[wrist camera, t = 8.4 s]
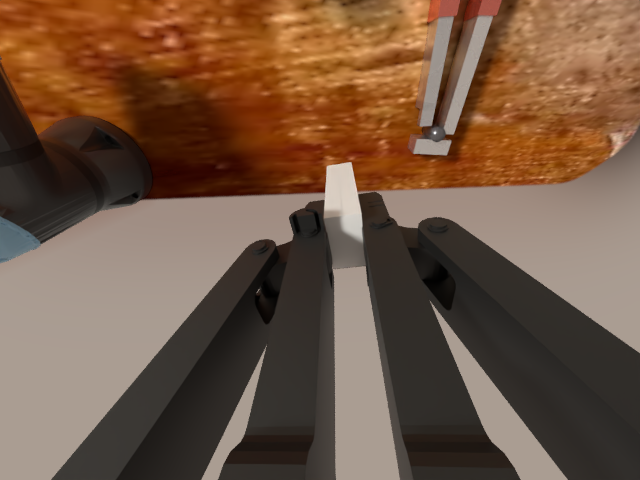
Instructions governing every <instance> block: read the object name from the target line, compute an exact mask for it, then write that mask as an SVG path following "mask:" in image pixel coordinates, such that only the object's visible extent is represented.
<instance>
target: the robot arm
mask: <svg viewBox="0 0 640 480" xmlns="http://www.w3.org/2000/svg"><path fill="white" fill-rule="evenodd" d="M1 59H2V58H1V56H0V60H1ZM151 187H152V173H151V169H150V166H149V164H148V161H147V159H146V158H145V156H144V154H143V153H142V151H141V150H140V148H139V147H138V146H137V145H136V144H135V142H134V141H133V140H132V139H131V138H130V137H129V136H127V135H126V134H125V133H124V132H123V131H121V130H120V129H119V128H117V127H115V126H114V125H112V124H110V123H108V122H106V121H104V120H102V119H99V118H95V117H91V116H77V117H70V118H65V119H62V120H60V121H58V122H56V123H55V124H53V125H52V126H50V127H49V128H47V129H46V130H45V131H43V132H42V133H40V134H39V135H38V136H37V134H36V132H35V130H34V127H33V125H32V123H31V121H30V119H29V117H28V115H27V113H26V111H25V109H24V107H23V105H22V103H21V101H20V99H19V97H18V95H17V93H16V91H15V89H14V87H13V85H12V83H11V81H10V79H9V77H8V75H7V73H6V71H5V69H4V67H3V65H2V63H1V61H0V263H3V262H6V261H9V260H11V259H13V258H15V257H17V256H20V255H21V254H24V253H26V252H28V251H30V250H33V249H36V248H38V247H39V246H40V245H41V244H43V243H44V242H46V241H48V240H49V239H51V238H53V237H55V236H57V235H58V234H60V233H62V232H64V231H65V230H67V229H69V228H70V227H72V226H74V225H76V224H77V223H79V222H81V221H83V220H85V219H86V218H88V217H90V216H91V215H93V214H95V213H97V212H99V211H102V210H108V209H113V208H119V207H125V206H129V205H132V204H135V203H137V202H138V201H140V200H141V199H143V198H145V197H146V196H147V195H148V193H149V192H150V190H151ZM289 220H290V223H291V227H292V230H293V234H294V236H293V240H292V241H290V242H288V243H286V244H282V245H279V246H276V244H275V242H274V241H273V240H269V239H265V240H259V241H256V242H254V243H252V244H251V245H249V246H248V247H247V248H246V249H245V250H244V251H243V253H242V254H241V255H240V256H239V257H238V258H237V260H236V261H235V262H234V263H233V264H232V266H231V267H230V268H229V269H228V271H227V272H226V273H225V274H224V275H223V277H222V278H221V279H220V280H219V281H218V282H217V283H216V285H215V286H214V287H213V288H212V290H211V291H210V292H209V293H208V294H207V295H206V296H205V298H204V299H203V300H202V301H201V303H200V304H199V305H198V306H197V307H196V309H195V310H194V311H193V312H192V313H191V314H190V316H189V317H188V318H187V319H186V320H185V321H184V323H183V324H182V325H181V326H180V327H179V329H178V330H177V331H176V332H175V333H174V335H173V336H172V337H171V338H170V339H169V340H168V342H167V343H166V344H165V345H164V346H163V348H162V349H161V350H160V351H159V352H158V354H157V355H156V356H155V357H154V358H153V359H152V361H151V362H150V363H149V364H148V365H147V367H146V368H145V369H144V370H143V371H142V373H141V374H140V375H139V376H138V378H136V380H135V381H134V382H133V383H132V385H131V386H130V387H129V388H128V389H127V390H126V392H125V393H124V394H123V395H122V396H121V398H120V399H119V400H118V401H117V402H116V403H115V405H114V406H113V407H112V408H111V409H110V411H109V412H108V413H107V414H106V415H105V417H104V418H103V419H102V420H101V421H100V422H99V424H98V425H97V426H96V427H95V429H94V430H93V431H92V432H91V433H90V434H89V435H88V437H87V438H86V439H85V440H84V441H83V443H82V444H81V445H80V446H79V447H78V449H77V450H76V451H75V452H74V453H73V454H72V456H71V457H70V458H69V459H68V460H67V462H66V463H65V464H64V465H63V466H62V468H61V469H60V470H59V471H58V472H57V473H56V475H55V476H54V477H53V478H52V480H201V479H202V477H203V475H204V473H205V471H206V469H207V466H208V465H209V463H210V460H211V458H212V456H213V454H214V452H215V450H216V448H217V446H218V444H219V442H220V440H221V438H222V436H223V434H224V432H225V429H226V427H227V425H228V423H229V421H230V419H231V417H232V415H233V413H234V411H235V409H236V407H237V405H238V403H239V401H240V399H241V397H242V395H243V392H244V390H245V388H246V386H247V384H248V382H249V380H250V378H251V376H252V374H253V372H254V370H255V367H256V366H257V364H258V362H259V359H260V357H261V355H262V353H263V351H264V349H265V347H266V345H267V347H266V351H265V355H264V359H263V363H262V367H261V371H260V376H259V380H258V384H257V388H256V392H255V396H254V400H253V404H252V409H251V413H250V417H249V421H248V425H247V428H246V432H245V435H244V437H243V439H242V441H241V442H240V443H239V444H238V445H237V446H236V447H235V448H234V449H233V450H232V451H231V452H230V453H229V455H228V457H227V459H226V461H225V463H224V465H223V467H222V470H221V473H220V476H219V479H218V480H336V476H335V475H336V474H335V375H334V374H335V367H334V366H335V364H334V363H335V361H334V360H335V359H334V275H333V270H332V264H333V269H340V268H348V267H349V268H350V267H359V266H366V272H367V282H368V286H369V291H370V297H371V303H372V310H373V316H374V322H375V327H376V334H377V340H378V346H379V352H380V359H381V365H382V371H383V377H384V383H385V389H386V395H387V401H388V408H389V413H390V420H391V426H392V431H393V438H394V444H395V450H396V456H397V462H398V469H399V475H400V480H520V478H519V476H518V474H517V472H516V470H515V468H514V467H513V465H512V464H511V463H510V461H509V459H508V458H507V457H506V455H505V454H504V453H503V452H502V451H501V450H500V449H499V448H498V447H497V446H496V445H494V444H493V443H492V442H491V440H490V439H489V437H488V436H487V434H486V432H485V430H484V428H483V426H482V424H481V421H480V419H479V417H478V415H477V412H476V409H475V407H474V405H473V402H472V400H471V398H470V395H469V393H468V390H467V388H466V386H465V383H464V381H463V379H462V376H461V374H460V372H459V370H458V367H457V364H456V362H455V360H454V357H453V355H452V353H451V350H450V348H449V345H448V343H447V341H446V338H445V336H444V334H443V331H442V329H441V327H440V324H439V322H438V320H437V317H436V315H435V312H434V310H433V308H432V305H431V303H430V301H431V302H432V304H433V305H434V306H435V308H436V309H437V310H438V312H439V313H440V314H441V315H442V317H443V318H444V319H445V321H446V322H447V323H448V325H449V326H450V327H451V328H452V330H453V331H454V332H455V334H456V335H457V336H458V338H459V339H460V340H461V342H462V343H463V344H464V345H465V347H466V348H467V349H468V350H469V352H470V353H471V354H472V356H473V357H474V358H475V359H476V361H477V362H478V364H479V365H480V366H481V367H482V369H483V370H484V371H485V373H486V374H487V375H488V376H489V378H490V379H491V380H492V382H493V383H494V384H495V386H496V387H497V388H498V389H499V391H500V392H501V393H502V395H503V396H504V397H505V399H506V400H507V401H508V403H510V405H511V406H512V408H513V409H514V410H515V412H516V413H517V414H518V415H519V417H520V418H521V419H522V421H523V422H524V423H525V424H526V426H527V427H528V428H529V430H530V431H531V432H532V434H533V435H534V436H535V438H536V439H537V440H538V441H539V443H540V444H541V445H542V447H543V448H544V449H545V451H546V452H547V453H548V454H549V456H550V457H551V458H552V460H553V461H554V462H555V464H556V465H557V466H558V467H559V469H560V470H561V471H562V473H563V474H564V475H565V476H566V478H567V479H568V480H640V353H639V352H637V351H636V350H634V349H633V348H631V347H630V346H629V345H627V344H625V343H624V342H623V341H621V340H620V339H618V338H617V337H616V336H615V335H613V334H612V333H610V332H609V331H608V330H606V329H605V328H603V327H602V326H600V325H599V324H598V323H596V322H595V321H593V320H592V319H591V318H589V317H588V316H586V315H585V314H584V313H582V312H581V311H579V310H578V309H576V308H575V307H573V306H572V305H571V304H569V303H568V302H566V301H565V300H564V299H562V298H561V297H560V296H558V295H557V294H555V293H554V292H552V291H551V290H550V289H548V288H547V287H545V286H544V285H543V284H541V283H540V282H538V281H537V280H535V279H534V278H533V277H531V276H530V275H529V274H527V273H525V272H524V271H523V270H521V269H520V268H519V267H517V266H516V265H514V264H513V263H512V262H510V261H509V260H507V259H506V258H505V257H503V256H502V255H500V254H499V253H497V252H496V251H495V250H493V249H492V248H490V247H489V246H488V245H486V244H485V243H483V242H482V241H481V240H479V239H478V238H476V237H475V236H473V235H472V234H471V233H469V232H468V231H466V230H465V229H464V228H462V227H461V226H459V225H458V224H457V223H455V222H453V221H451V220H449V219H445V218H440V217H438V218H437V217H434V218H427V219H425V220H422V221H421V222H420V223H419V226H418V228H406V227H402V226H398V225H397V222H396V221H395V220H394V219H393V218H391V217H390V216H389V214H388V212H387V209H386V206H385V204H384V201H383V199H382V196H381V195H380V194H378V193H377V192H371V193H364V194H357V189H356V184H355V179H354V174H353V169H352V164H351V162H349V163H343V164H337V165H331V166H327V176H326V190H325V200H321V201H313V202H309V203H308V204H307V205H306V207H305V208H303V209H300V210H298V211H295V212H294V213H292V214H291V215H290V217H289ZM258 289H260V290H259V291H258ZM257 291H258V293H257ZM256 293H257V294H256ZM429 300H430V301H429Z"/></svg>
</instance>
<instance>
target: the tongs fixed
mask: <svg viewBox="0 0 640 480" xmlns="http://www.w3.org/2000/svg"><path fill="white" fill-rule="evenodd" d="M501 1H502V0H469V1H468V5H467V8H466V12H465V15H464V19H463V22H464V25H463V28H462V32H461V35H460V39H459V42H458V46H457V49H456V53H455V56H454V60H453V63H452V67H451V70H450V74H449V77H448V81H447V84H446V88H445V91H444V95H443V98H442V102H441V105H440V109H439V112H438V116H437V119H436V123H435V124H433V123H432V126H423V128H422V133H423V134H424V135H423V134H411V135H410V140H409V144H408V148H409V150H410V151H411V152H412V153H413V154H432V155H447V153H448V150H449V147H450V144H451V140H450V139H448V138H446V137H445V135H446V134H454V132H455V129H456V126H457V123H458V120H459V117H460V114H461V111H462V108H463V105H464V102H465V99H466V96H467V93H468V90H469V87H470V84H471V81H472V78H473V75H474V72H475V69H476V66H477V63H478V60H479V57H480V54H481V51H482V48H483V45H484V42H485V39H486V36H487V33H488V30H489V27H490V24H491V21H492V18H493V17H494V16H496V15H497V13H498V10H499V7H500V4H501Z"/></svg>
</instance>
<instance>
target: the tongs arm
mask: <svg viewBox="0 0 640 480" xmlns="http://www.w3.org/2000/svg"><path fill="white" fill-rule="evenodd" d="M459 3H460V0H431V3H430V9H429V15H428V22H427V23H429V26H428V32H427V38H426V45H425V51H424V57H423V63H422V70H421V76H420V82H419V88H418V95H417V101H416V107H417V108H419V109H420V112H419V117H418V123H417V125H418V126H432V122H433V117H434V112H435V107H436V102H437V97H438V92H439V87H440V82H441V77H442V73H443V68H444V63H445V58H446V53H447V48H448V43H449V38H450V33H451V28H452V23H453V18H454V17H455V16H457V13H458V8H459Z"/></svg>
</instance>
